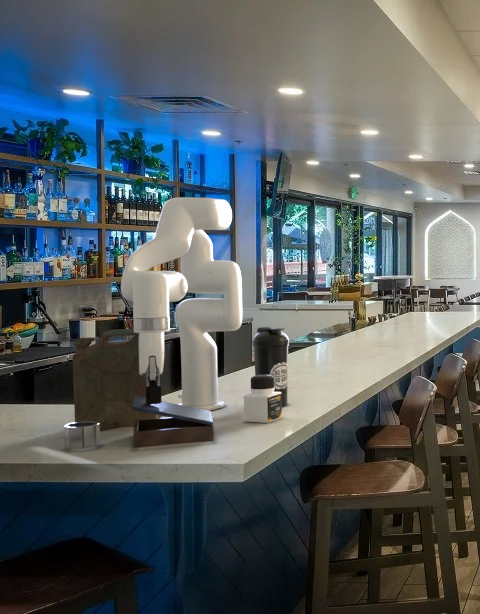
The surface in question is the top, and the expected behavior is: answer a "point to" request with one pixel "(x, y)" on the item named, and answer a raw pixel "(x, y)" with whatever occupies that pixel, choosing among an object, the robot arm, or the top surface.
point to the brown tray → (170, 432)
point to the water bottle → (272, 357)
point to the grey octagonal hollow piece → (82, 434)
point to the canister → (108, 380)
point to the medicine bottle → (262, 400)
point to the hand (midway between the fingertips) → (153, 403)
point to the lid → (173, 411)
